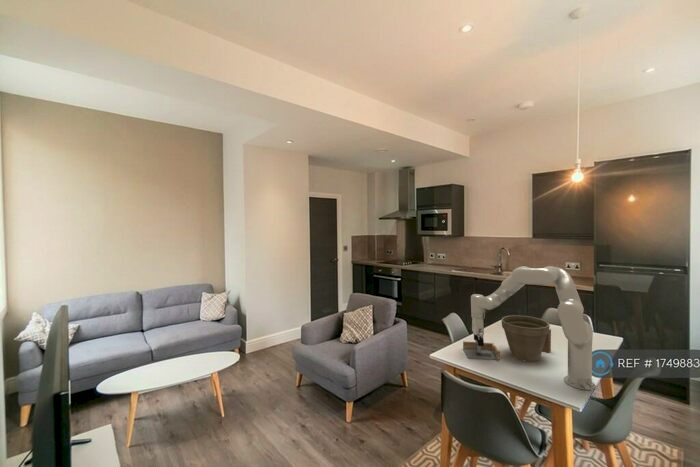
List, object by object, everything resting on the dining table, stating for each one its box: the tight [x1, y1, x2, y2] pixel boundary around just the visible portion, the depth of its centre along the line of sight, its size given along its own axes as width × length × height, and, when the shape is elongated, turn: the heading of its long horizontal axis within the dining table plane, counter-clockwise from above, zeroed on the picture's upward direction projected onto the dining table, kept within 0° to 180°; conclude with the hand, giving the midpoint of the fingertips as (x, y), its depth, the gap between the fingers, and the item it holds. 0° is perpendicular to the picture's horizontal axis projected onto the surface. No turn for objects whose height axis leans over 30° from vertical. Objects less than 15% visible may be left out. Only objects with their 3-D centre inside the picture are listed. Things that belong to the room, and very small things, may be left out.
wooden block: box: [542, 328, 552, 353], centre depth 192 cm, size 4×11×18 cm, turn 36°
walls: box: [462, 340, 501, 361], centre depth 185 cm, size 14×18×5 cm
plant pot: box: [501, 314, 551, 363], centre depth 181 cm, size 25×25×22 cm
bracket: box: [474, 340, 492, 357], centre depth 184 cm, size 8×5×8 cm, turn 80°
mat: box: [463, 349, 501, 361], centre depth 185 cm, size 14×18×1 cm
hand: (478, 343), depth 184 cm, fingers open, 9 cm apart
